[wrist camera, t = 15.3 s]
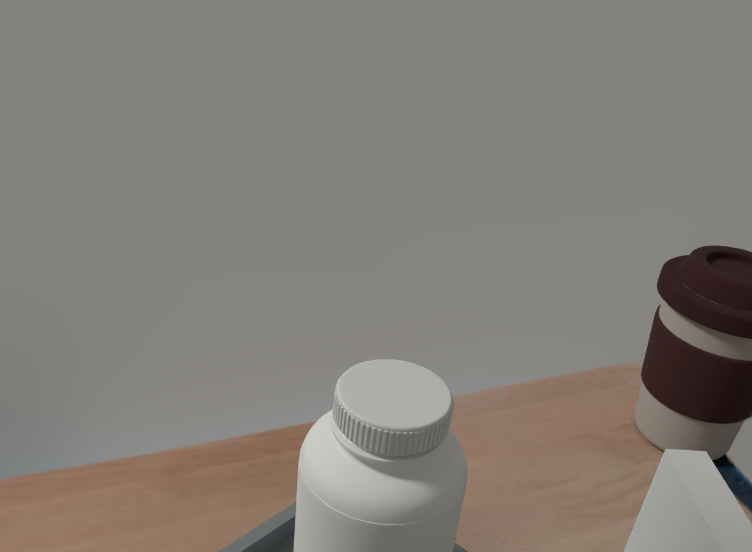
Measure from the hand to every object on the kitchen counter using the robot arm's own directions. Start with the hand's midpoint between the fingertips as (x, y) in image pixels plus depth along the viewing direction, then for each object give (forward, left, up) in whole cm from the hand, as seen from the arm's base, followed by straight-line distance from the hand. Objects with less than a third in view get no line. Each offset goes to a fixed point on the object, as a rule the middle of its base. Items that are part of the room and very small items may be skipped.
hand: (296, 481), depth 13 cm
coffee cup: (-4, +45, -26) cm, 52 cm away
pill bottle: (-9, +14, -25) cm, 30 cm away
